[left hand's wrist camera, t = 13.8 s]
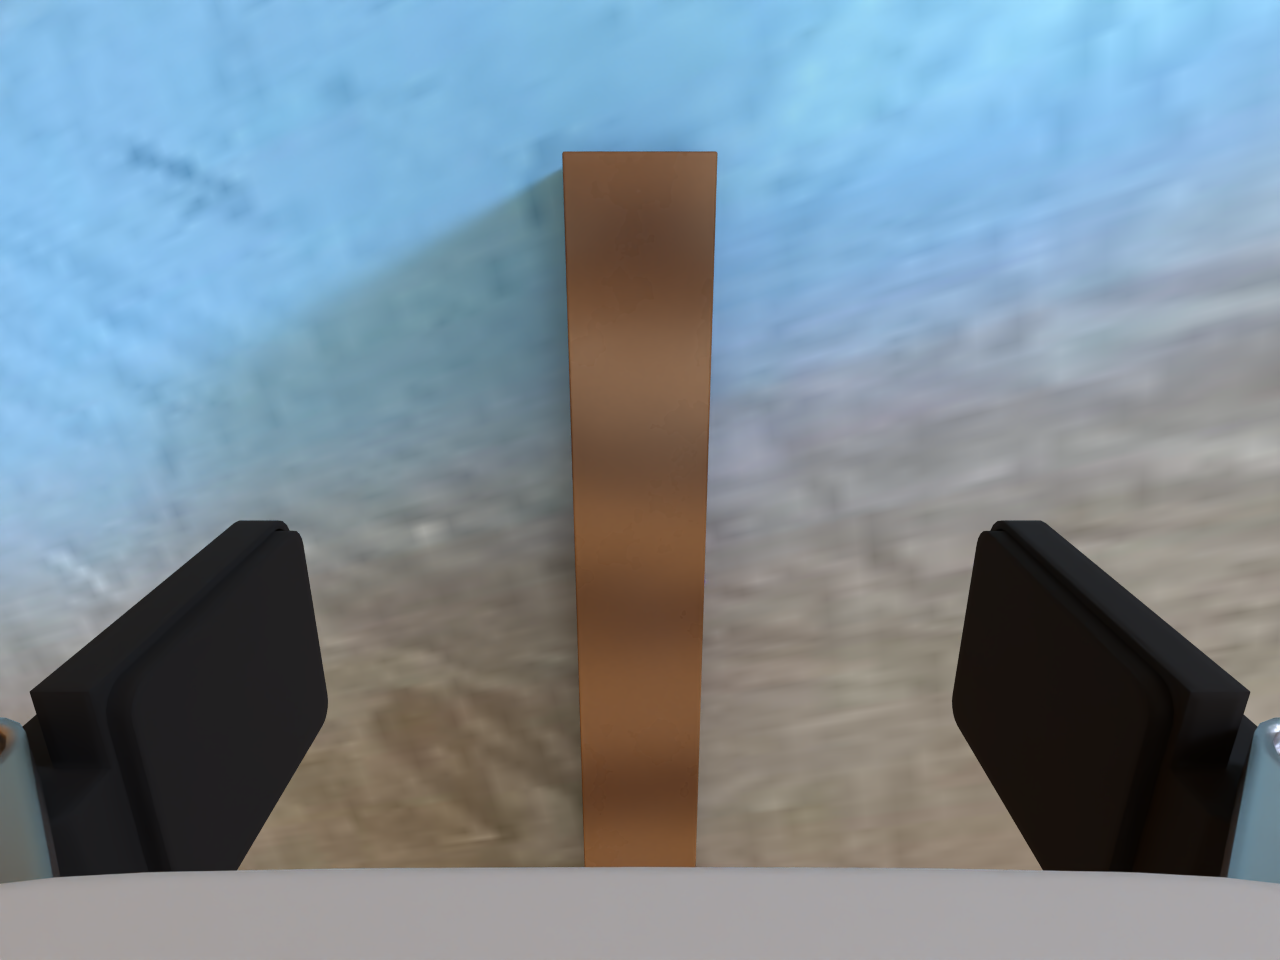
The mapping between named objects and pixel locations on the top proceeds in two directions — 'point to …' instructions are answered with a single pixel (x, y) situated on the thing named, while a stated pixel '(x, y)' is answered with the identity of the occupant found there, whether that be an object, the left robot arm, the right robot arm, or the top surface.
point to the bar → (639, 489)
